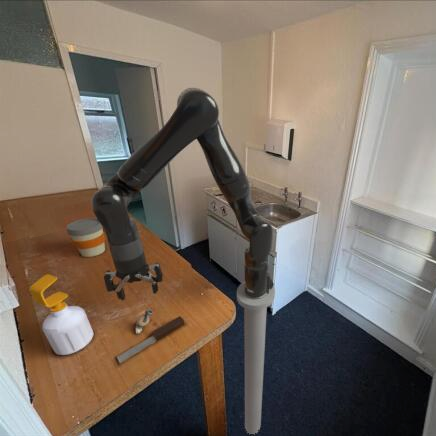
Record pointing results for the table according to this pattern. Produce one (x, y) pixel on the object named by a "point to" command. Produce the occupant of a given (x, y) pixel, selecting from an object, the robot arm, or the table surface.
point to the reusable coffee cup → (87, 236)
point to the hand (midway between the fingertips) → (139, 294)
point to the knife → (153, 338)
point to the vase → (143, 320)
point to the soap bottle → (62, 320)
